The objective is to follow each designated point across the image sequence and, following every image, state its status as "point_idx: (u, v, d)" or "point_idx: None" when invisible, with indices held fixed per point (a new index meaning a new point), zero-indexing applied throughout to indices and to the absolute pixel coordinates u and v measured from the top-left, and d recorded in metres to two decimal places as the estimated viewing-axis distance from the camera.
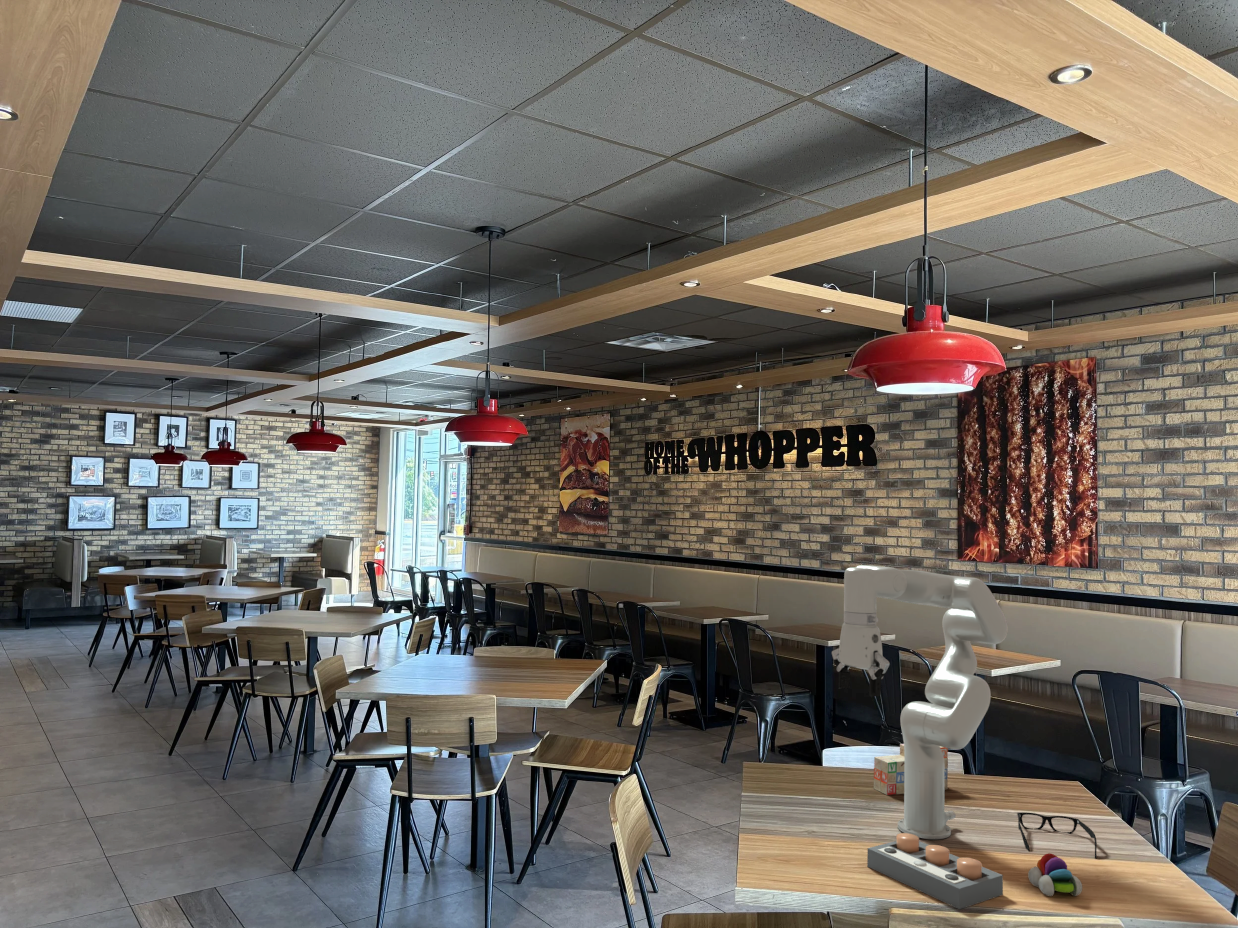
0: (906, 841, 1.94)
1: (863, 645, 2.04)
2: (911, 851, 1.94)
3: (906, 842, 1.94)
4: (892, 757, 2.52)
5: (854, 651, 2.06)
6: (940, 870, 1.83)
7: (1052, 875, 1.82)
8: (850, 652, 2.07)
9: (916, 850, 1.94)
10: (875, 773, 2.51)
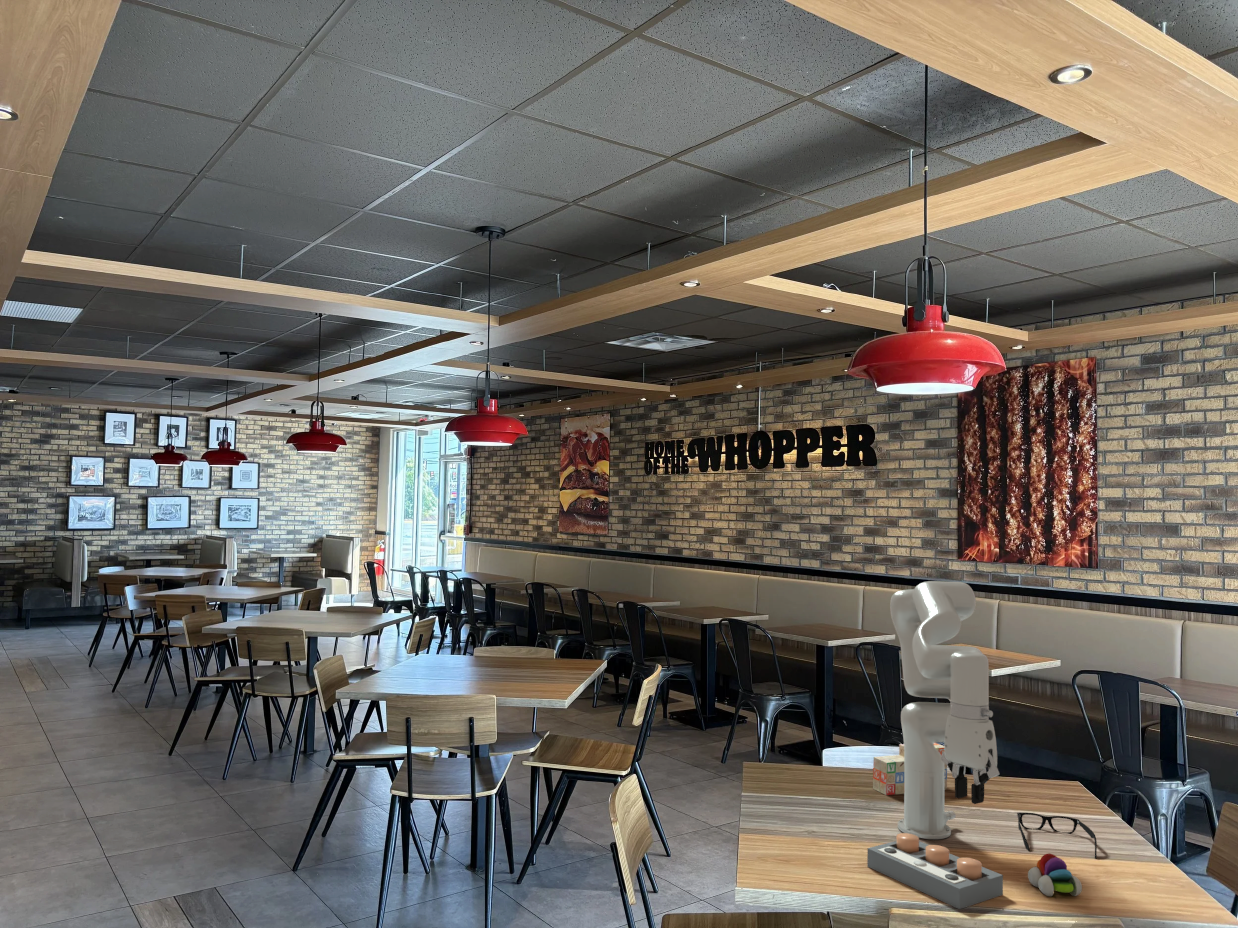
0: (906, 841, 1.94)
1: (976, 742, 1.80)
2: (911, 851, 1.94)
3: (906, 842, 1.94)
4: (891, 757, 2.51)
5: (964, 748, 1.82)
6: (940, 870, 1.83)
7: (1052, 875, 1.82)
8: (959, 749, 1.83)
9: (916, 850, 1.94)
10: (874, 773, 2.51)
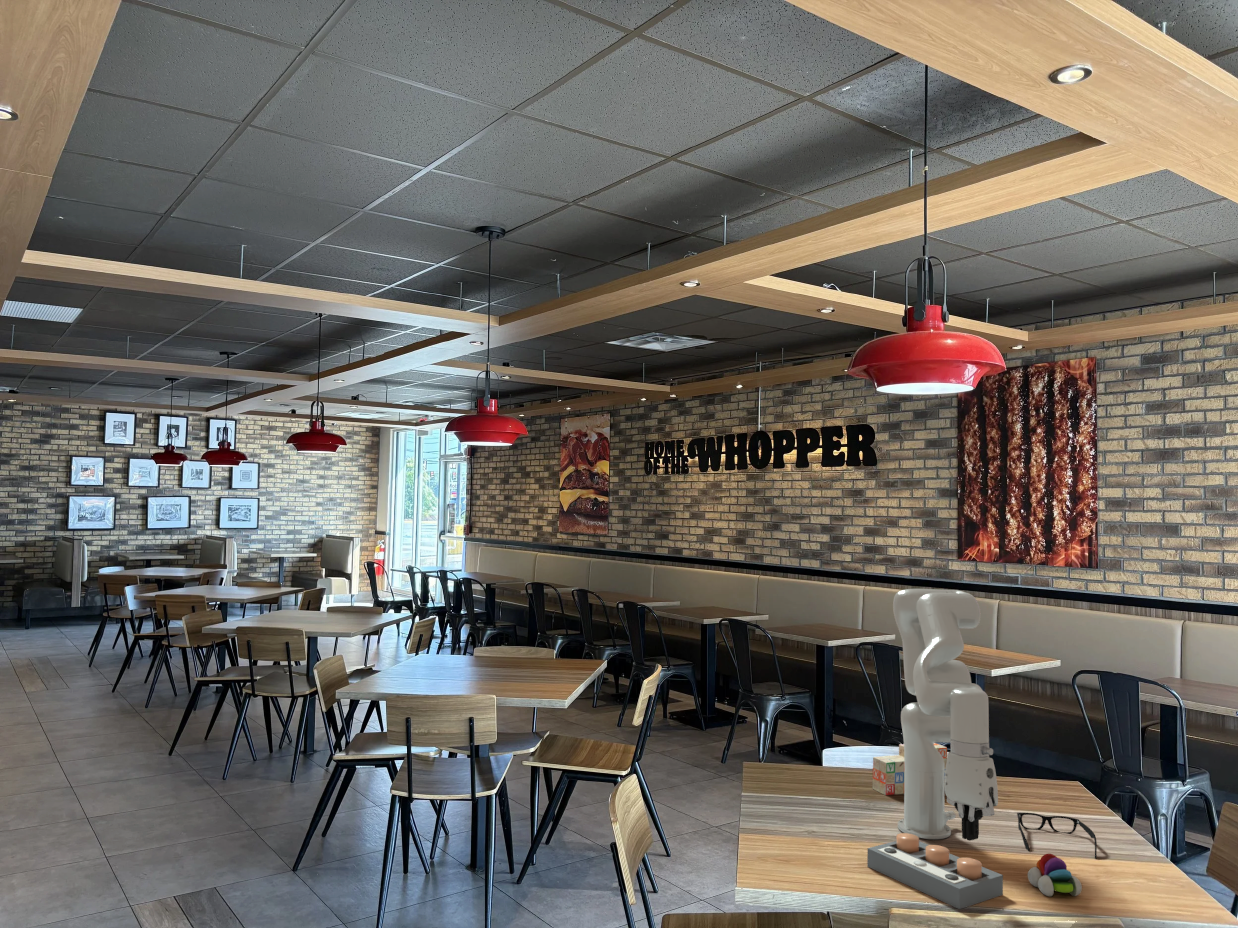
0: (906, 841, 1.94)
1: (976, 780, 1.79)
2: (911, 851, 1.94)
3: (906, 842, 1.94)
4: (891, 757, 2.51)
5: (965, 786, 1.81)
6: (940, 870, 1.83)
7: (1052, 875, 1.82)
8: (959, 787, 1.82)
9: (916, 850, 1.94)
10: (874, 773, 2.51)
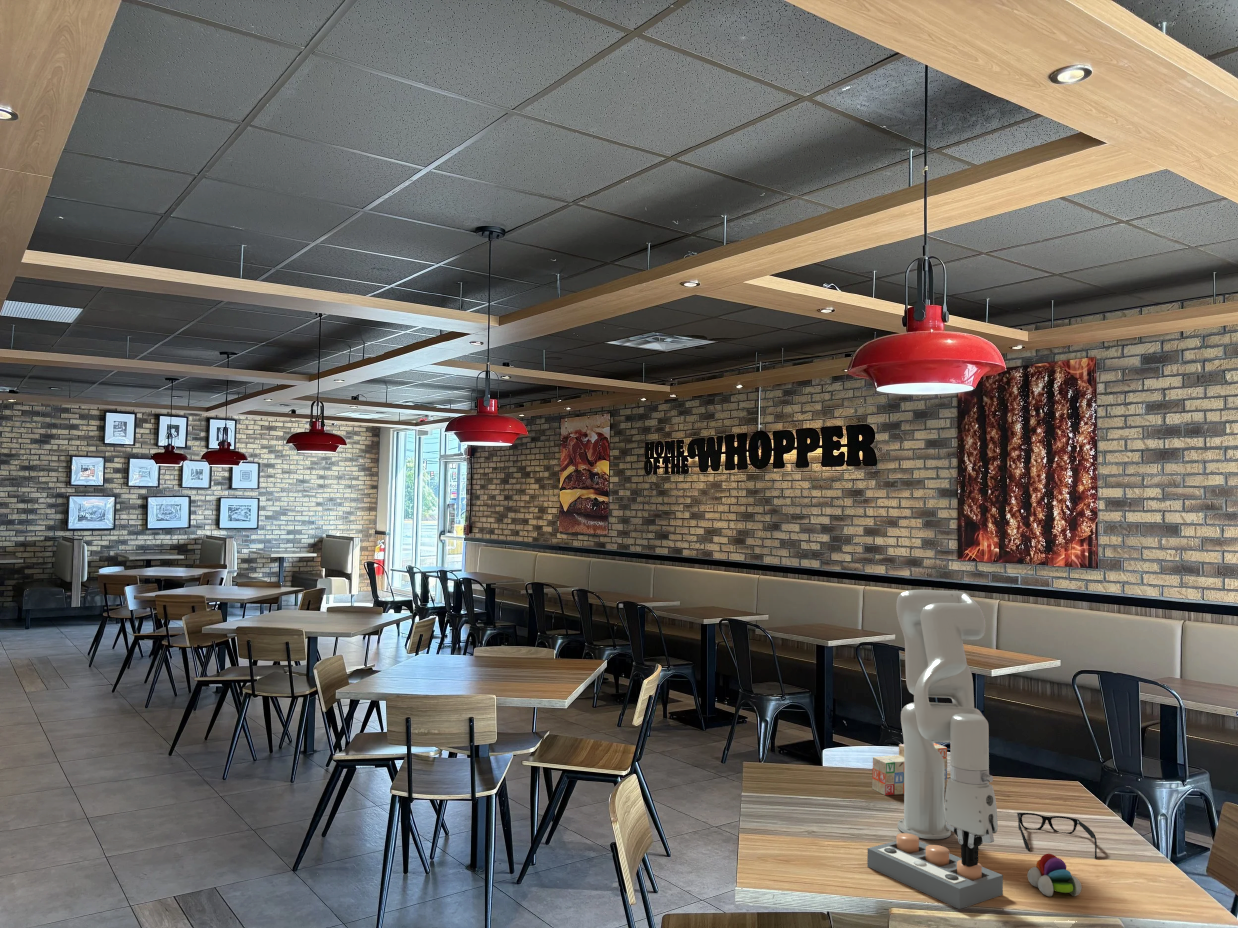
0: (906, 841, 1.94)
1: (976, 807, 1.79)
2: (911, 851, 1.94)
3: (906, 842, 1.94)
4: (891, 757, 2.51)
5: (964, 813, 1.81)
6: (940, 870, 1.83)
7: (1052, 875, 1.81)
8: (959, 813, 1.82)
9: (916, 850, 1.94)
10: (873, 773, 2.51)
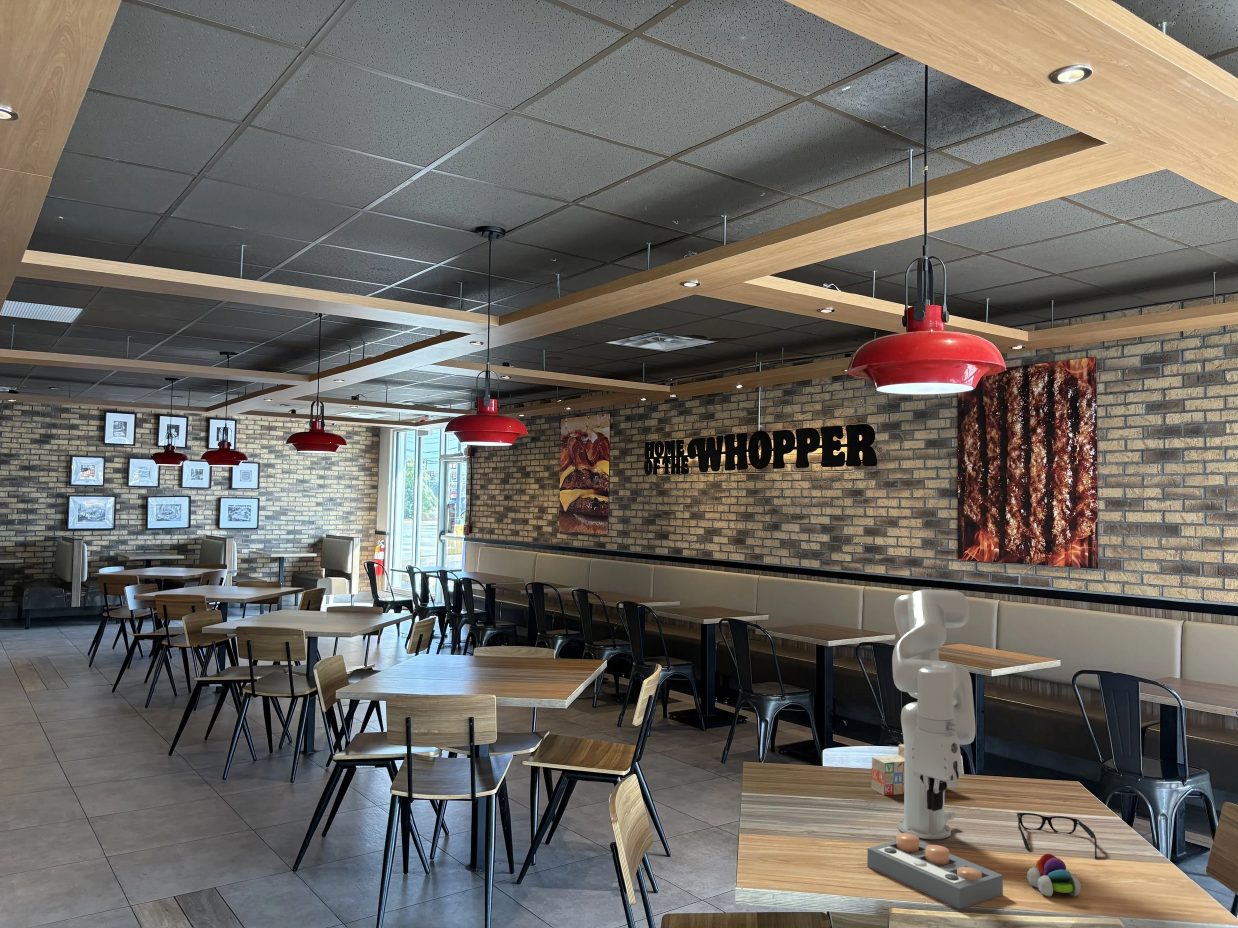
0: (906, 841, 1.94)
1: (941, 755, 1.87)
2: (911, 851, 1.94)
3: (906, 842, 1.94)
4: (890, 757, 2.51)
5: (930, 760, 1.89)
6: (940, 870, 1.83)
7: (1051, 875, 1.81)
8: (925, 761, 1.90)
9: (916, 850, 1.94)
10: (873, 773, 2.51)
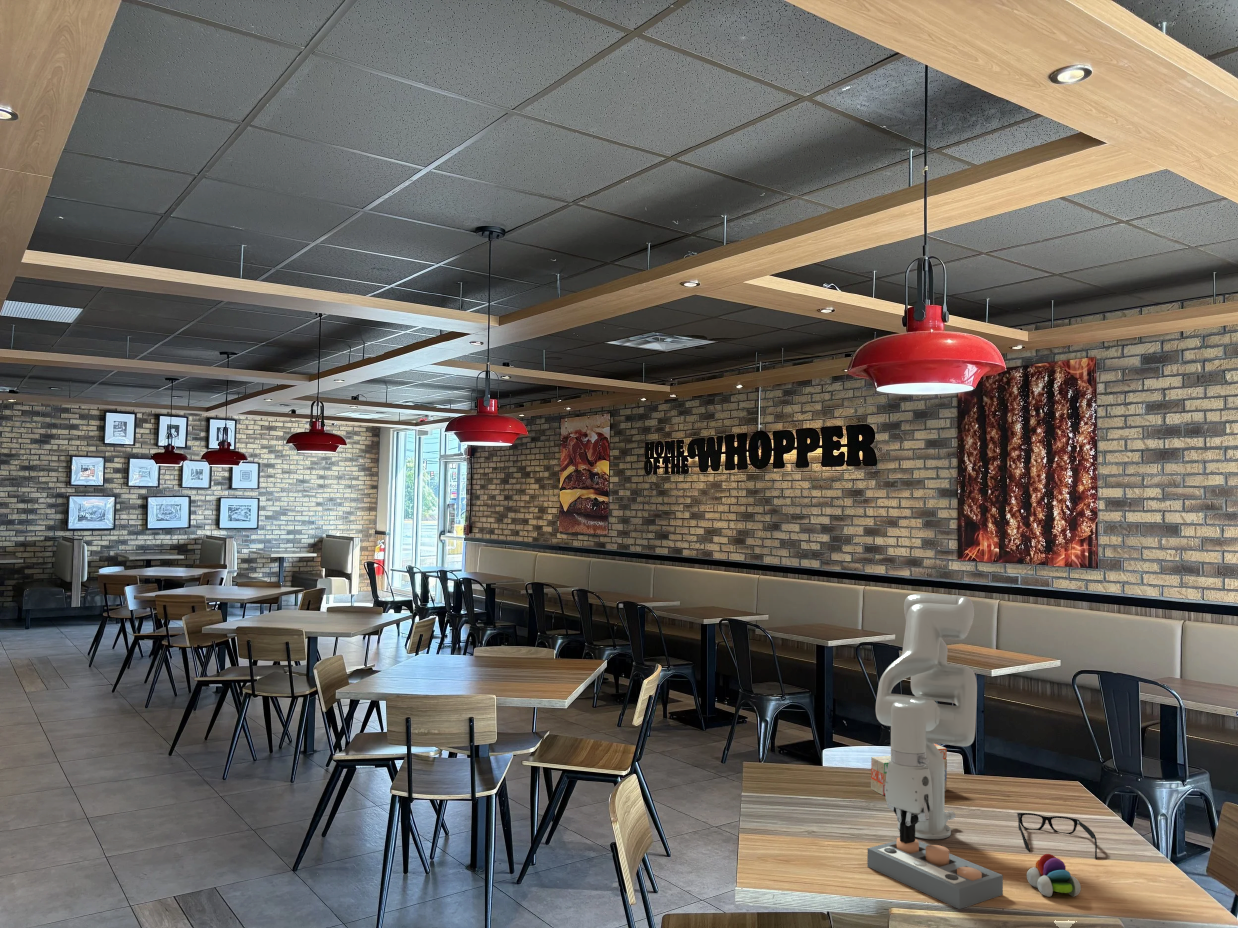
0: (906, 845, 1.94)
1: (912, 788, 1.93)
2: None
3: (906, 846, 1.94)
4: (889, 757, 2.51)
5: (902, 793, 1.95)
6: (940, 870, 1.83)
7: (1051, 875, 1.81)
8: (898, 793, 1.96)
9: None
10: (872, 773, 2.51)
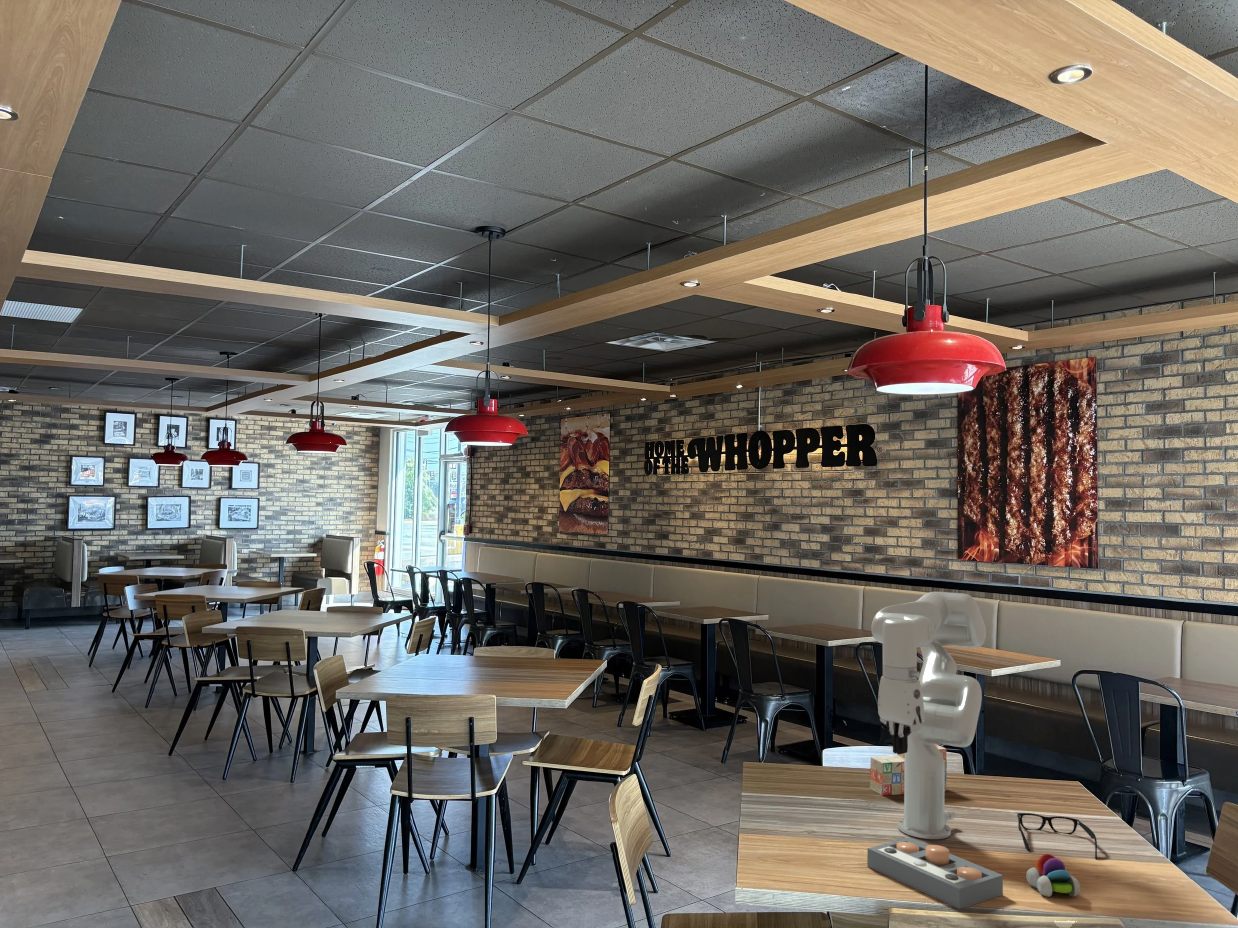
0: (906, 850, 1.94)
1: (904, 701, 1.98)
2: None
3: (906, 851, 1.94)
4: (889, 758, 2.51)
5: (895, 706, 2.00)
6: (940, 870, 1.83)
7: (1051, 875, 1.81)
8: (890, 707, 2.01)
9: None
10: (871, 773, 2.51)
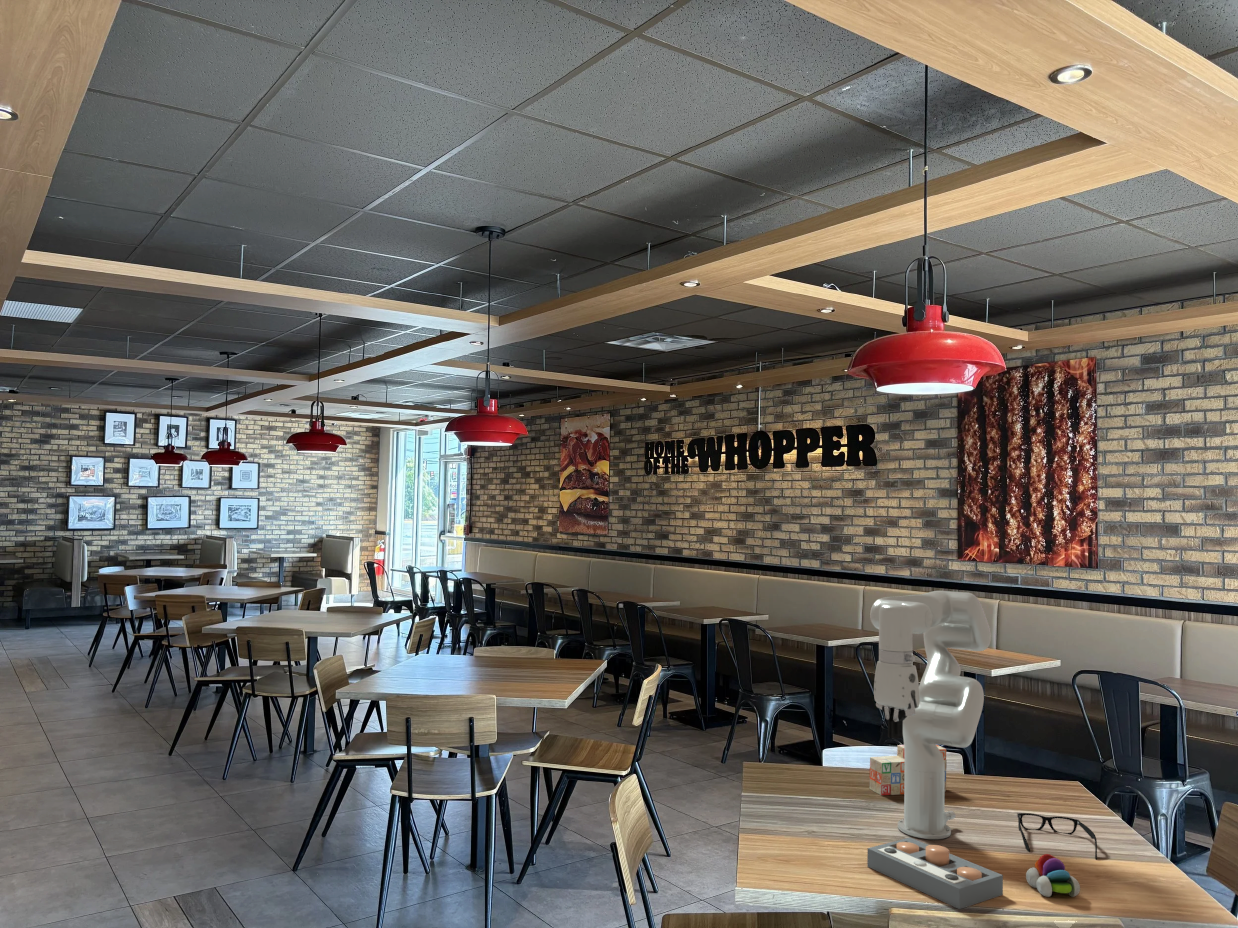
0: (906, 850, 1.94)
1: (900, 684, 1.99)
2: None
3: (906, 851, 1.94)
4: (888, 758, 2.51)
5: (890, 690, 2.01)
6: (940, 870, 1.83)
7: (1050, 876, 1.81)
8: (886, 691, 2.02)
9: None
10: (871, 773, 2.51)
